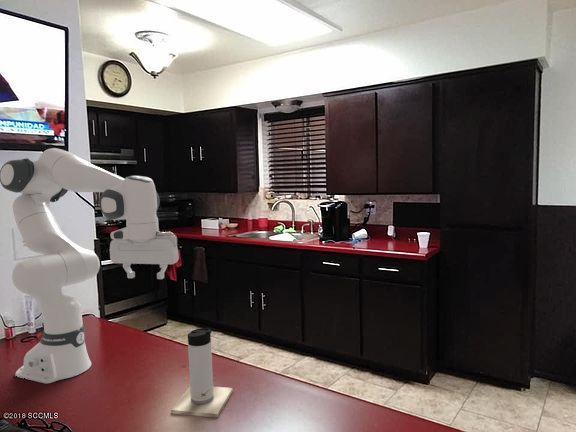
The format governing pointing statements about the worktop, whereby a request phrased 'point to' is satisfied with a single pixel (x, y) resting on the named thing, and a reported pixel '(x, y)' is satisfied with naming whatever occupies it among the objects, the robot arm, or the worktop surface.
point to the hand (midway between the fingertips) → (145, 278)
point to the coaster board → (207, 409)
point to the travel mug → (200, 366)
